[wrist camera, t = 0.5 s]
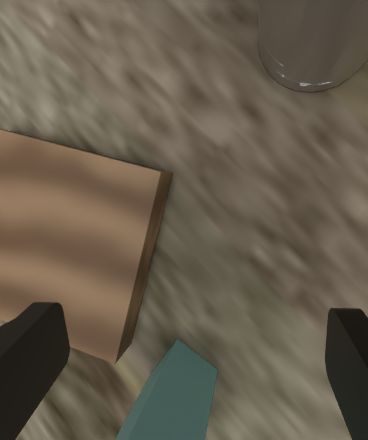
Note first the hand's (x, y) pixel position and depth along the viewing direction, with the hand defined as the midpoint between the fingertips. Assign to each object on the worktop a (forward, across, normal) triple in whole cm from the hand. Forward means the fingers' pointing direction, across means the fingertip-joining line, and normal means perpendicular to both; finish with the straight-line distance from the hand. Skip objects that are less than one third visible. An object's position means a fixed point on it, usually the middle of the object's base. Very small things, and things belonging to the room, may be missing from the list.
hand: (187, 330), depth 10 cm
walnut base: (+21, +15, +4) cm, 27 cm away
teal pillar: (+18, +4, +18) cm, 26 cm away
